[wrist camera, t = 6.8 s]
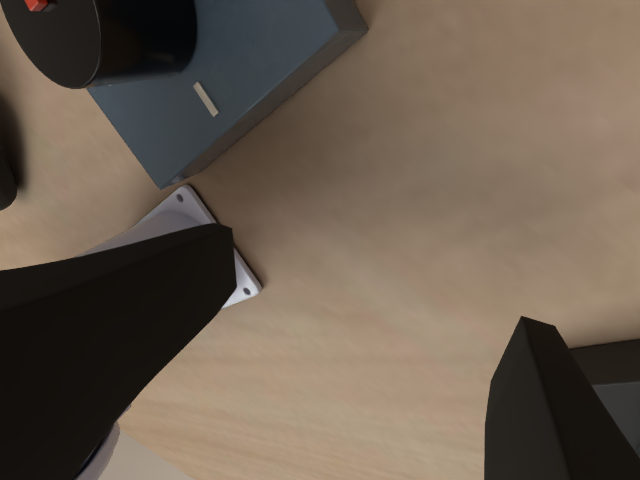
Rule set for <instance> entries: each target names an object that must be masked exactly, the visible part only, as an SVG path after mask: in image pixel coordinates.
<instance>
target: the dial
mask: <svg viewBox="0 0 640 480" xmlns="http://www.w3.org/2000/svg"><path fill="white" fill-rule="evenodd" d="M0 3H1V6H2V9H3V12H4V14H5V17H6V19H7V22H8V24H9V26H10V28H11V30H12V32H13V34H14V36H15V38H16V40H17V41H18V43H19V45H20V46H21V48H22V49H23V51H24V52H25V54H26V55H27V56H28V58H29V59H30V60H31V61H32V63H33V64H34V65H35V66H36V67H37V68H38V69H39V70H40V71H41V72H42V73H43V74H44V75H45V76H46V77H48V78H49V79H50V80H52V81H53V82H55V83H57V84H58V85H61V86H63V87H66V88H70V89H82V88H90V87H98V86H106V85H113V84H121V83H129V82H137V81H144V80H152V79H160V78H167V77H172V76H175V75H177V74H178V73H180V72H181V71H182V70H183V69H184V68H185V67H186V66H187V64H188V63H189V61H190V59H191V57H192V54H193V51H194V48H195V43H196V35H197V23H196V13H195V7H194V3H193V0H0Z"/></svg>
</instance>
